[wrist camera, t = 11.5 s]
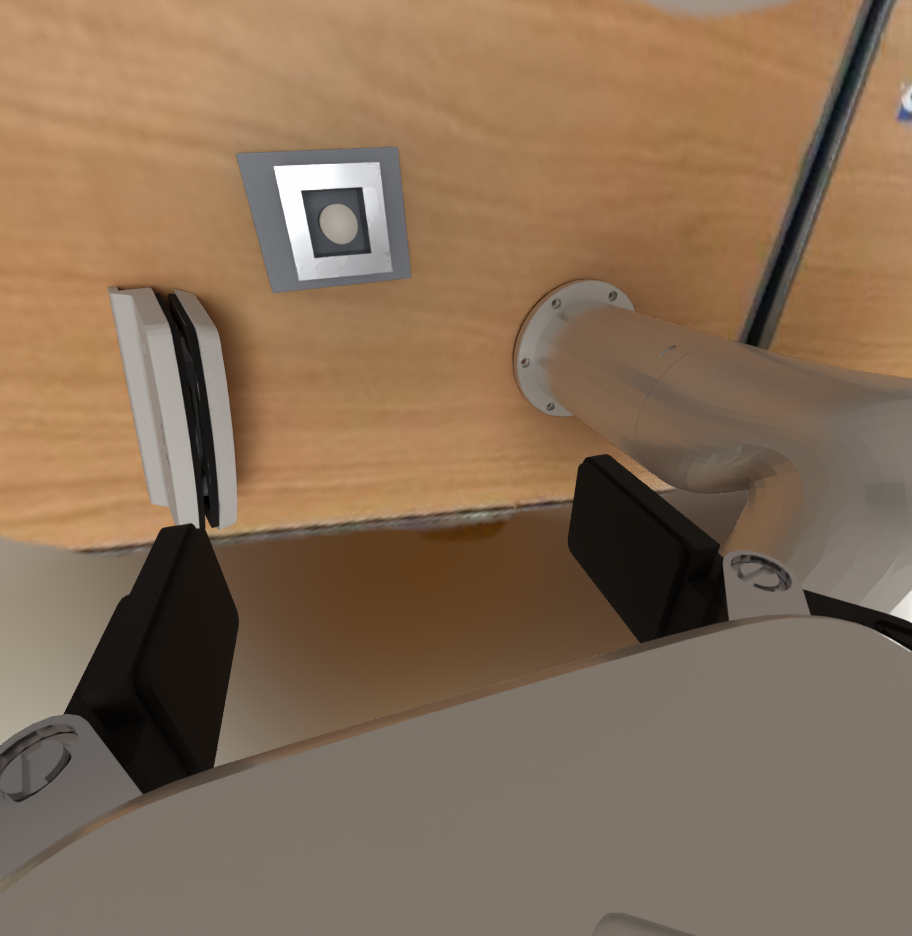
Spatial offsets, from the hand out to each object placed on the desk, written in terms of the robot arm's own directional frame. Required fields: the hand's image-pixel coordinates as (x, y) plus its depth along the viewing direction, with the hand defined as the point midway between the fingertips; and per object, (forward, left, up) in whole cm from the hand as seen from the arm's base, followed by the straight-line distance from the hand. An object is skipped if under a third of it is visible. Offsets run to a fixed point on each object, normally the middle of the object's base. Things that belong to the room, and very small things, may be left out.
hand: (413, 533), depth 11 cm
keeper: (-1, -6, -27) cm, 28 cm away
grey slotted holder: (+12, +5, -28) cm, 31 cm away
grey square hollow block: (-1, -6, -26) cm, 27 cm away
